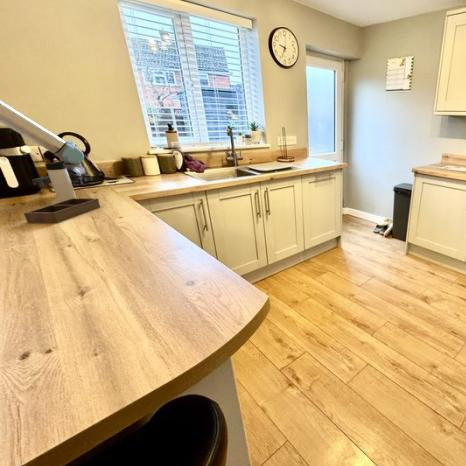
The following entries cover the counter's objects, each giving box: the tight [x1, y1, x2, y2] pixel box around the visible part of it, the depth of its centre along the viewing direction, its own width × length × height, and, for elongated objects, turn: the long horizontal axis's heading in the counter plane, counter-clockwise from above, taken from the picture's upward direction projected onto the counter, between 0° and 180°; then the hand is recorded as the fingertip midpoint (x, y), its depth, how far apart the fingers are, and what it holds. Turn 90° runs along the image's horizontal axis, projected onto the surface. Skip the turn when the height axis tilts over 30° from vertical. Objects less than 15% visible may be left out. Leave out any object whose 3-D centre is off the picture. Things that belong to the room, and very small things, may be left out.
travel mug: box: [44, 160, 77, 203], centre depth 129 cm, size 6×7×20 cm
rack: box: [23, 197, 101, 224], centre depth 119 cm, size 11×21×4 cm, turn 2°
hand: (59, 183), depth 126 cm, fingers open, 13 cm apart
